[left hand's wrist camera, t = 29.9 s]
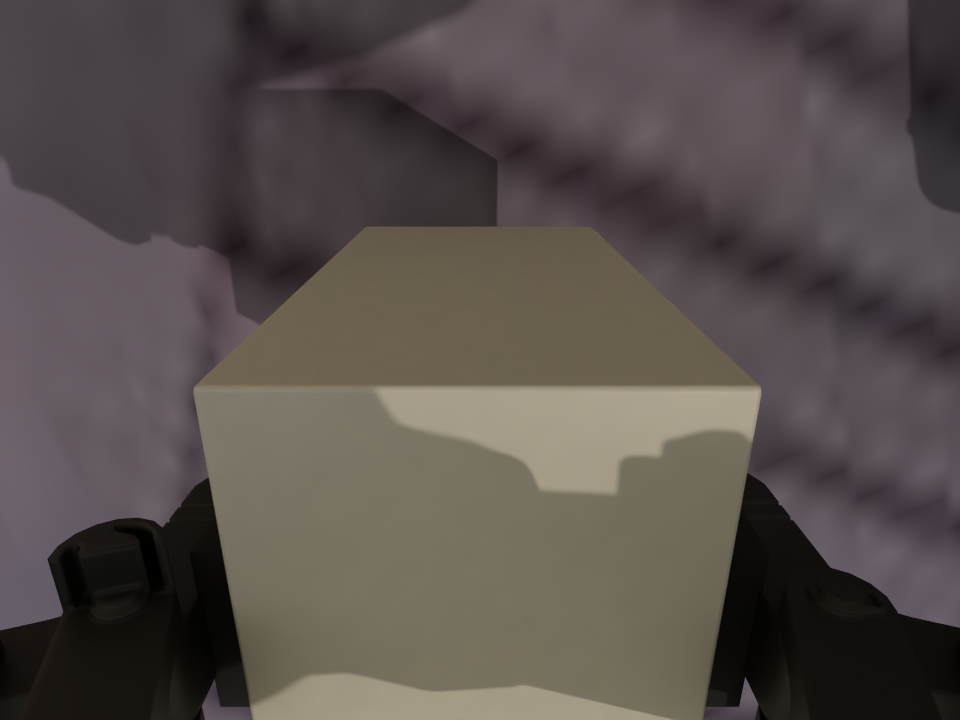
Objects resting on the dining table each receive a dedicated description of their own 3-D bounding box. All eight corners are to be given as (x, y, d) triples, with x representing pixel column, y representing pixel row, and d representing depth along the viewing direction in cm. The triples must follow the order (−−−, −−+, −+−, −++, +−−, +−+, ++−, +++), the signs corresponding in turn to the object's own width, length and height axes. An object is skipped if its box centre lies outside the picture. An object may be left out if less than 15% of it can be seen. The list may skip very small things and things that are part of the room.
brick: (592, 226, 16) (765, 386, 6) (575, 481, 19) (678, 866, 9) (364, 226, 16) (189, 386, 6) (381, 481, 19) (277, 867, 9)
